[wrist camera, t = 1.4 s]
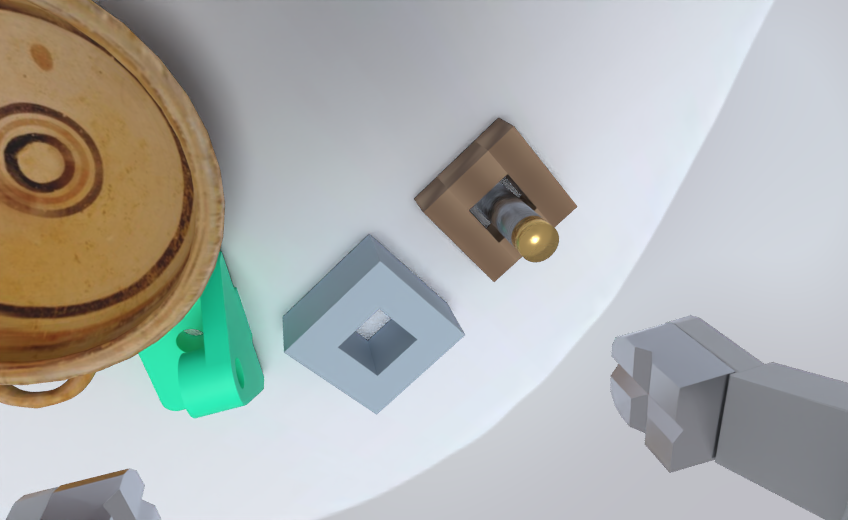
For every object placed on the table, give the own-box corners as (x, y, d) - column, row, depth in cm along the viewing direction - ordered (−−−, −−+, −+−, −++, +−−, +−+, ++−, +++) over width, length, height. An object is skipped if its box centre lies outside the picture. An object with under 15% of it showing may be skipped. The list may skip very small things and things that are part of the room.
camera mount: (115, 267, 40) (71, 348, 31) (222, 245, 41) (208, 316, 32) (171, 392, 45) (147, 491, 36) (264, 369, 47) (262, 459, 38)
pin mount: (498, 117, 42) (513, 126, 39) (560, 194, 46) (577, 206, 43) (414, 198, 43) (423, 212, 40) (481, 266, 47) (494, 282, 45)
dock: (369, 233, 43) (380, 261, 39) (447, 303, 48) (465, 334, 44) (282, 317, 45) (284, 352, 40) (367, 377, 49) (376, 414, 45)
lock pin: (492, 173, 44) (544, 215, 35) (512, 195, 45) (566, 241, 37) (466, 197, 44) (512, 244, 36) (487, 219, 45) (535, 269, 37)
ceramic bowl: (239, 342, 45) (233, 406, 38) (-126, 358, 38) (-214, 440, 31) (223, -76, 32) (211, -94, 25) (-319, -158, 26) (-536, -212, 19)
